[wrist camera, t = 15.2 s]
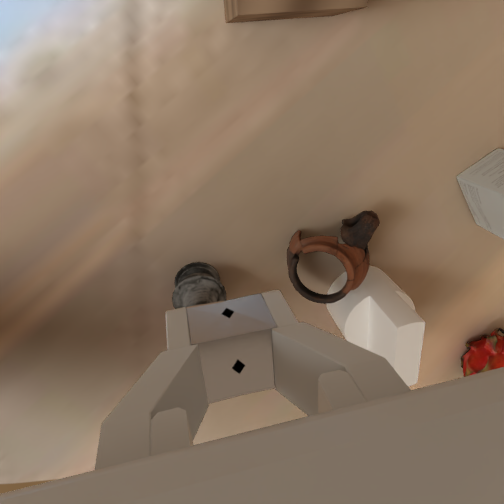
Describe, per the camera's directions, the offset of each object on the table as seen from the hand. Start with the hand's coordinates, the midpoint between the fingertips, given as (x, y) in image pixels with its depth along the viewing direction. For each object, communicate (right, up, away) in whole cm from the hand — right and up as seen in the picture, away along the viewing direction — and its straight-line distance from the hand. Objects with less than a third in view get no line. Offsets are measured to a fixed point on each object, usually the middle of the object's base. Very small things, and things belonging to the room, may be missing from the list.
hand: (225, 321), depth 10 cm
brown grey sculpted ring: (+10, +3, +36) cm, 38 cm away
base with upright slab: (+15, -4, +41) cm, 44 cm away
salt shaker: (-6, -2, +35) cm, 36 cm away
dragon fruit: (+36, -13, +50) cm, 63 cm away
